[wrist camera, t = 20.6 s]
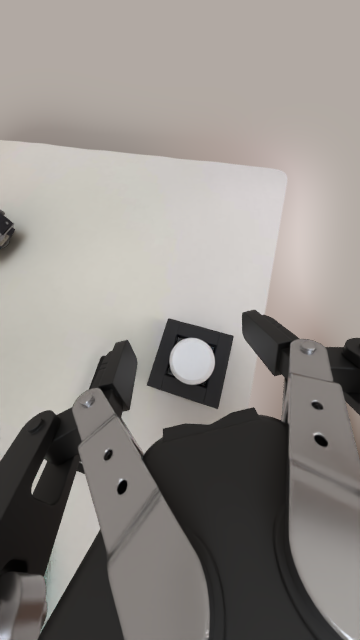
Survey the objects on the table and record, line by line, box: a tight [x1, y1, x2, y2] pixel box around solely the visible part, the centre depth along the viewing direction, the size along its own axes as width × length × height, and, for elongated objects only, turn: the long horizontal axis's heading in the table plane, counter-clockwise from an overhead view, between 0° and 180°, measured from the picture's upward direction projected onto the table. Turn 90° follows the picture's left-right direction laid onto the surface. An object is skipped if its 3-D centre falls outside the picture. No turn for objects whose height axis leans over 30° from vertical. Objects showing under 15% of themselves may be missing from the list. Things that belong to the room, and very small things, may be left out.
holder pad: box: [147, 319, 233, 409], centre depth 24 cm, size 10×10×3 cm
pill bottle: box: [169, 338, 215, 385], centre depth 21 cm, size 6×5×10 cm
